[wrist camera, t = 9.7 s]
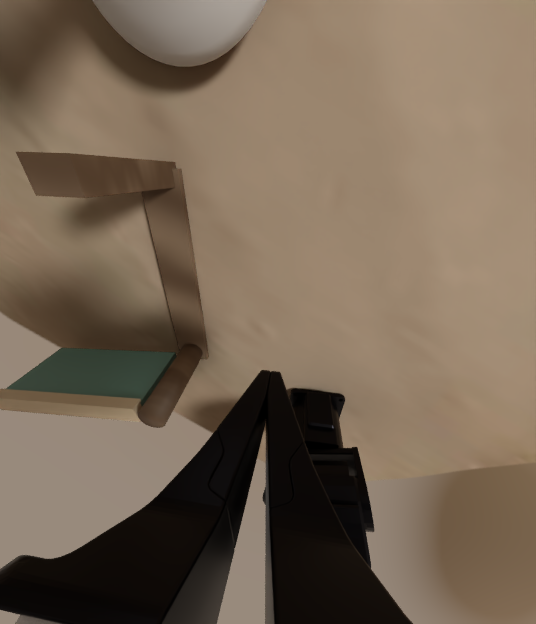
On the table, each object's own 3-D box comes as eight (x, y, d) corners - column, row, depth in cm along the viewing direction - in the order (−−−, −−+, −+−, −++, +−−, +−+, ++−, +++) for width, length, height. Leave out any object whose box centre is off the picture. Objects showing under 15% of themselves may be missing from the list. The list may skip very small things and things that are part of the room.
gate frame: (208, 357, 27) (172, 430, 19) (183, 354, 27) (137, 424, 20) (180, 162, 17) (78, 153, 9) (139, 160, 17) (7, 151, 9)
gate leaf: (174, 350, 25) (132, 408, 19) (178, 362, 26) (140, 421, 20) (60, 346, 27) (-12, 397, 21) (68, 357, 28) (1, 409, 22)
